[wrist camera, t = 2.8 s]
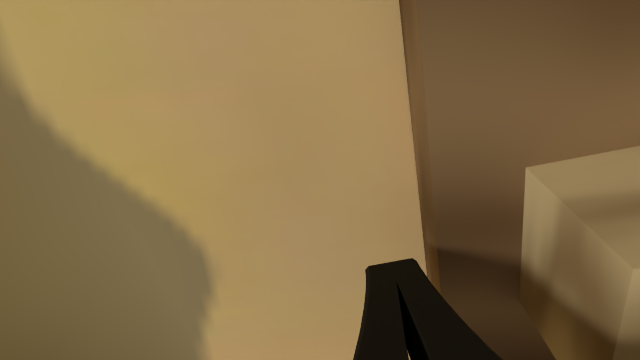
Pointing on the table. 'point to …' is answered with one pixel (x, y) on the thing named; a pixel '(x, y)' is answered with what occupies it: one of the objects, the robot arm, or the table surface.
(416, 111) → the trap board
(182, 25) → the table surface
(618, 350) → the maple block
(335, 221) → the table surface
